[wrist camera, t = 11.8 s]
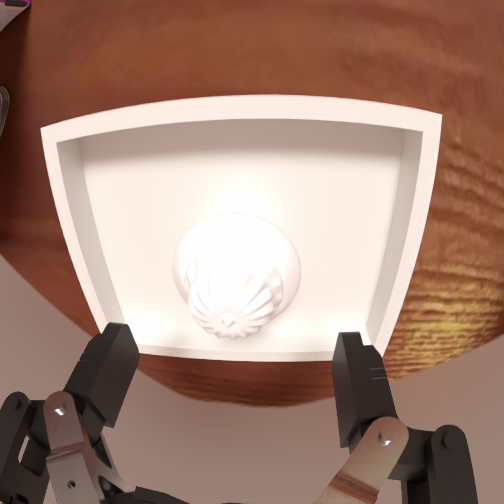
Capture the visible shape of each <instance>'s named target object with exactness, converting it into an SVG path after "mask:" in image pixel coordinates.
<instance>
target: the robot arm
mask: <svg viewBox="0 0 504 504" xmlns="http://www.w3.org/2000/svg"><path fill="white" fill-rule="evenodd" d="M138 362H139V349H138V347H137V344H136V342H135V340H134V337H133V335H132V332H131V330H130V327H129V325H128V324H124V323H115V322H109V323H108V324H107V325H106V327H105V329H104V331H103V332H102V334H101V333H98V334H97V335H96V336H95V337H94V338H93V339H91V340H90V341H89V343H88V345H87V347H86V348H85V350H84V353H83V354H82V356H81V357H80V361H78V363H77V365H76V367H75V368H74V370H73V372H72V374H71V376H70V378H69V380H68V382H67V384H66V386H65V388H64V389H63V391H58V392H55V393H53V394H51V395H50V396H49V397H48V398H47V399H46V400H29V399H28V397H27V396H26V395H25V394H24V393H22V392H14V393H12V394H10V395H9V396H8V397H7V398H6V400H5V401H4V403H3V405H2V407H1V410H0V504H43V501H44V497H45V493H46V490H47V486H48V483H49V479H50V480H51V484H52V488H53V491H54V494H55V498H56V501H57V504H189V503H187V502H184V501H182V500H180V499H177V498H175V497H173V496H170V495H168V494H166V493H163V492H158V491H153V490H149V489H145V488H141V487H137V486H136V490H135V491H132V492H130V490H129V488H128V486H127V484H126V483H125V481H124V480H123V478H122V477H121V476H120V474H119V473H118V471H117V469H116V466H115V464H114V462H113V459H112V457H111V454H110V451H109V449H108V446H107V443H106V441H105V438H104V435H103V433H102V429H103V426H107V427H111V428H114V425H115V422H116V420H117V417H118V414H119V412H120V409H121V406H122V404H123V401H124V398H125V396H126V393H127V390H128V388H129V385H130V383H131V380H132V378H133V375H134V373H135V370H136V368H137V365H138ZM332 376H333V384H334V392H335V400H336V408H337V416H338V427H339V436H340V447H341V448H344V447H349V451H350V456H349V458H348V459H347V461H346V462H345V464H344V465H343V466H342V468H341V469H340V470H339V472H338V473H337V474H336V476H335V477H334V478H333V479H332V481H331V482H330V483H329V484H328V486H327V487H326V488H325V489H324V491H323V492H322V493H321V494H320V496H319V497H318V498H317V499H316V500H315V502H314V503H313V504H375V502H376V500H377V495H378V493H379V491H380V489H381V488H382V486H383V485H384V483H385V481H386V480H387V479H393V480H401V490H402V504H478V500H477V492H476V486H475V479H474V474H473V468H472V463H471V458H470V453H469V449H468V444H467V440H466V437H465V434H464V432H463V431H462V430H461V429H460V428H458V427H457V426H454V425H444V426H441V427H439V428H438V429H437V430H436V431H435V432H433V431H423V430H416V429H412V428H409V427H407V426H406V425H405V424H404V423H403V422H402V421H400V420H399V418H398V416H397V414H396V410H395V406H394V402H393V398H392V394H391V390H390V386H389V383H388V379H387V375H386V371H385V369H384V364H383V361H382V357H381V354H380V353H379V352H378V351H377V350H376V348H375V347H374V346H373V345H363V341H362V337H361V334H360V332H359V331H355V332H339V333H338V337H337V341H336V346H335V350H334V354H333V359H332ZM25 436H28V437H29V441H28V443H27V446H26V449H25V451H24V454H23V457H22V460H21V462H20V463H19V460H18V456H19V452H20V450H21V447H22V444H23V442H24V439H25ZM223 504H240V503H223Z"/></svg>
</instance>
